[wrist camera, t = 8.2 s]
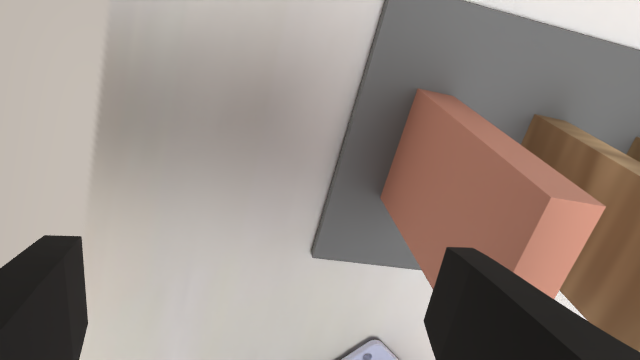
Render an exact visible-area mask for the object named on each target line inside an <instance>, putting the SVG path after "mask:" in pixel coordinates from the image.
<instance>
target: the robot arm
mask: <svg viewBox="0 0 640 360" xmlns="http://www.w3.org/2000/svg"><path fill="white" fill-rule="evenodd" d="M424 324H425V327H426V330H427V334H428V337H429V340H430V344H431V347H432V350H433V353H434V356H435V358H436V360H640V352H639V351H637V350H635V349H633V348H632V347H630V346H628V345H626V344H625V343H623V342H621V341H620V340H618V339H616V338H615V337H613V336H611V335H610V334H608V333H606V332H605V331H603V330H601V329H600V328H598V327H596V326H595V325H593V324H591V323H590V322H588V321H587V320H585V319H583V318H582V317H580V316H579V315H577V314H576V313H574V312H572V311H571V310H569V309H568V308H566V307H565V306H563V305H562V304H560V303H559V302H557V301H556V300H554V299H553V298H551V297H549V296H548V295H546V294H545V293H543V292H542V291H540V290H539V289H537V288H536V287H534V286H533V285H531V284H530V283H528V282H527V281H525V280H524V279H522V278H521V277H519V276H518V275H516V274H515V273H513V272H512V271H510V270H509V269H507V268H506V267H504V266H503V265H501V264H500V263H498V262H497V261H495V260H493V259H492V258H490V257H489V256H487V255H485V254H483V253H482V252H480V251H478V250H476V249H474V248H466V247H447V248H446V251H445V254H444V257H443V260H442V264H441V267H440V270H439V273H438V276H437V280H436V283H435V286H434V289H433V292H432V296H431V299H430V302H429V305H428V308H427V312H426V315H425V318H424ZM87 325H88V318H87V304H86V291H85V278H84V264H83V251H82V238H81V236H47V235H45V236H43V237H42V238H40V239H39V240H37V241H36V242H35V243H33V244H32V245H31V246H29V247H28V248H27V249H26V250H24V251H23V252H21V253H20V254H19V255H17V256H16V257H15V258H13V259H12V260H11V261H10V262H8V263H7V264H6V265H4V266H3V267H2V268H0V360H79V357H80V354H81V350H82V346H83V342H84V337H85V333H86V329H87ZM367 353H369V354H367ZM364 354H367V355H364ZM341 360H398V359H397V357H396V356H395V355H394V354H393V353H392V352H391V351H390V350H389V349H388V348H387V347H386V346H385V345H384V344H383V343H382V342H381V341H379V340H371V341H369V342H367V343H366V344H364V345H363V346H361V347H360V348H358V349H357V350H355V351H354V352H352V353H350V354H349V355H347V356H346V357H344V358H343V359H341Z"/></svg>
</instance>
